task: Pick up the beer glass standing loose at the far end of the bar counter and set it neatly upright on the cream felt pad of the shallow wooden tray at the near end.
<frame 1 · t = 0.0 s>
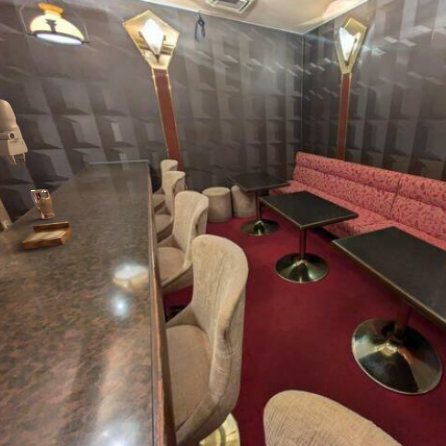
hand: (18, 163, 123), 29 cm above the bar counter, tool pointing down, fingers open, 8 cm apart
shallow wooden tray: (50, 240, 109), on the bar counter
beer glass: (48, 218, 133), on the bar counter
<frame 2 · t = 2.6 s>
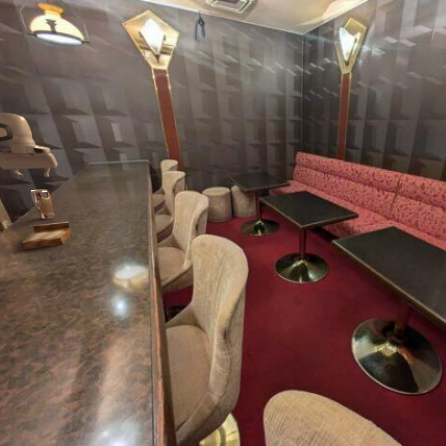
hand: (34, 177, 125), 22 cm above the bar counter, tool pointing down, fingers open, 8 cm apart
nothing on the bar counter moved.
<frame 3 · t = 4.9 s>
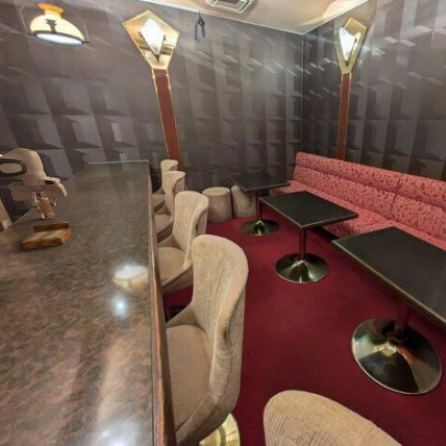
hand: (44, 206, 131), 6 cm above the bar counter, tool pointing down, fingers closed on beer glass, 6 cm apart
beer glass: (48, 217, 133), on the bar counter, touching gripper
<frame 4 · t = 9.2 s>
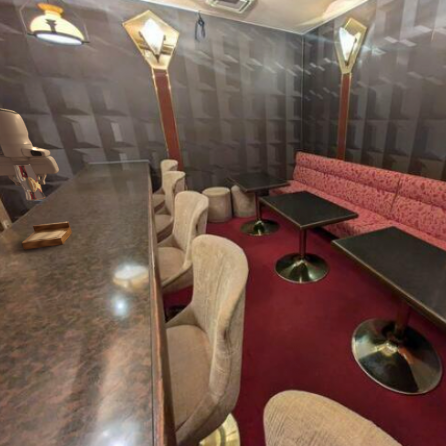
hand: (31, 184, 106), 23 cm above the bar counter, tool pointing down, fingers closed on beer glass, 6 cm apart
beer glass: (36, 199, 108), point 17 cm above the bar counter, touching gripper
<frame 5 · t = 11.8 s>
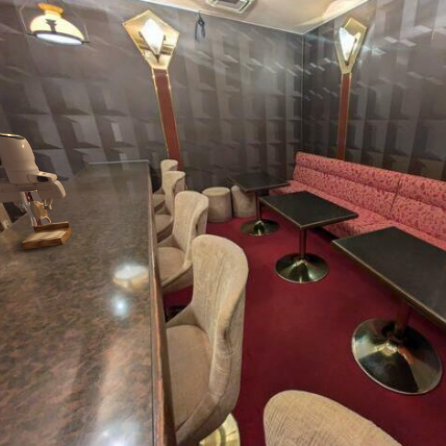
hand: (37, 210, 102), 14 cm above the bar counter, tool pointing down, fingers closed on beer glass, 6 cm apart
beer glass: (42, 224, 105), point 8 cm above the bar counter, touching gripper
when the fingers open (9 cm above the bar counter, at t = 13.6 s): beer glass stays where it is, resting on shallow wooden tray.
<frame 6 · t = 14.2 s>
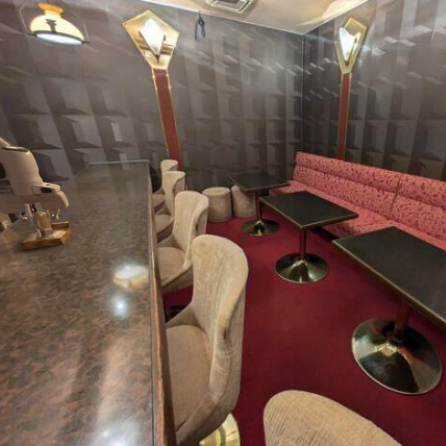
hand: (41, 220, 104), 10 cm above the bar counter, tool pointing down, fingers open, 8 cm apart
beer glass: (46, 235, 106), point 3 cm above the bar counter, touching shallow wooden tray
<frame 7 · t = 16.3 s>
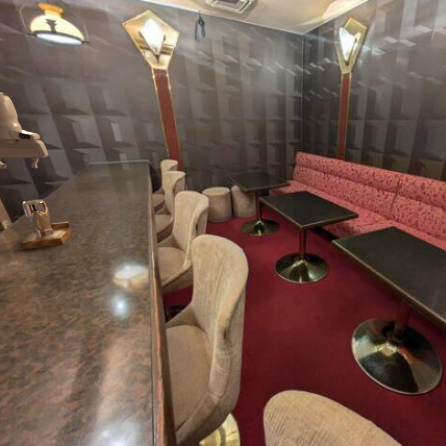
hand: (19, 168, 106), 30 cm above the bar counter, tool pointing down, fingers open, 8 cm apart
nothing on the bar counter moved.
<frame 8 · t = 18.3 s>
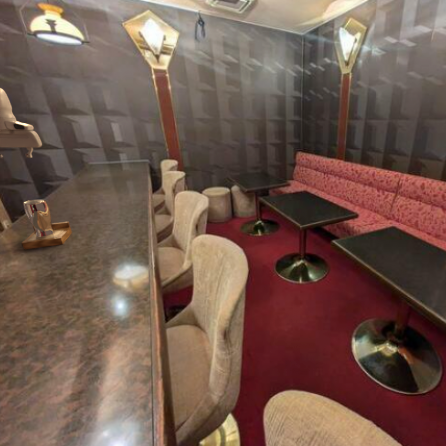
hand: (15, 157, 112), 33 cm above the bar counter, tool pointing down, fingers open, 8 cm apart
nothing on the bar counter moved.
at the end: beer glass inside the target area on the shallow wooden tray (0.1 cm from its centre), point 3.0 cm above the shallow wooden tray's base; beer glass tilted 1°; the gripper is holding nothing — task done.
